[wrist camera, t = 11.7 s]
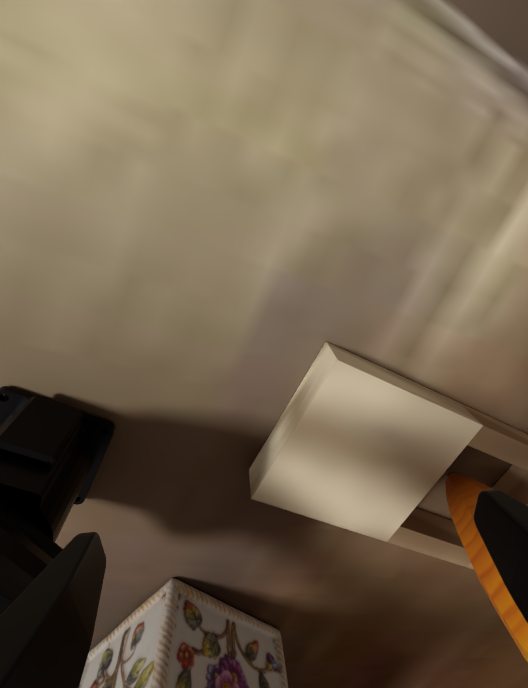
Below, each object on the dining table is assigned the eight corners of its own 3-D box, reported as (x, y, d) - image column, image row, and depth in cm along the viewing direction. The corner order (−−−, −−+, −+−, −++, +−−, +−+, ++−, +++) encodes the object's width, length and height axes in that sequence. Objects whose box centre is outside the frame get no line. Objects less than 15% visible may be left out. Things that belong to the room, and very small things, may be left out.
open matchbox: (457, 540, 29) (477, 570, 27) (248, 469, 25) (251, 498, 22) (546, 442, 26) (577, 467, 24) (326, 341, 21) (337, 360, 19)
